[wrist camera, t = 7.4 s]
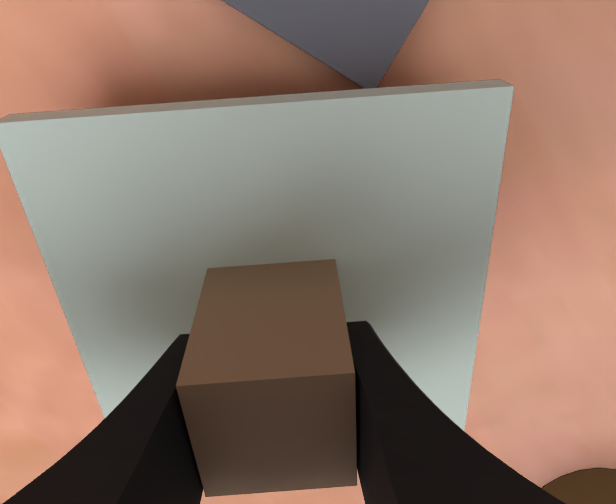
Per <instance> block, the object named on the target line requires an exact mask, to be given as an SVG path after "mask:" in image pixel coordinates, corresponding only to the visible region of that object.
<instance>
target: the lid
mask: <svg viewBox="0 0 616 504" xmlns="http://www.w3.org/2000/svg"><path fill="white" fill-rule="evenodd" d="M513 90H514V86H513V85H511V84H509V83H507V82H505V81H502V80H500V79H494V80H480V81H466V82H452V83H438V84H424V85H410V86H396V87H382V88H368V89H354V90H340V91H326V92H312V93H298V94H284V95H270V96H256V97H242V98H228V99H214V100H200V101H186V102H172V103H159V104H145V105H131V106H117V107H103V108H89V109H75V110H61V111H47V112H33V113H19V114H9V115H7V116H5V117H3V118H1V119H0V149H1V151H2V154H3V157H4V159H5V162H6V164H7V167H8V169H9V172H10V175H11V177H12V180H13V182H14V185H15V188H16V190H17V193H18V195H19V198H20V201H21V203H22V206H23V208H24V211H25V213H26V216H27V219H28V221H29V224H30V226H31V229H32V232H33V234H34V237H35V239H36V242H37V244H38V247H39V250H40V252H41V255H42V257H43V260H44V263H45V265H46V268H47V270H48V273H49V275H50V278H51V281H52V283H53V286H54V288H55V291H56V294H57V296H58V299H59V301H60V304H61V306H62V309H63V312H64V314H65V317H66V319H67V322H68V325H69V327H70V330H71V332H72V335H73V338H74V340H75V343H76V345H77V348H78V350H79V353H80V356H81V358H82V361H83V363H84V366H85V369H86V371H87V374H88V376H89V379H90V381H91V384H92V387H93V389H94V392H95V394H96V397H97V400H98V402H99V405H100V407H101V410H102V412H103V415H104V418H106V417H107V416H108V415H109V414H110V413H111V412H112V411H113V410H114V409H115V408H116V406H117V405H118V404H119V403H120V402H121V401H122V400H123V399H124V398H125V397H126V396H127V395H128V394H129V393H130V392H131V390H132V389H133V388H134V387H135V386H136V385H137V384H138V383H139V381H140V380H141V379H142V378H143V377H144V376H145V375H146V373H147V372H148V371H149V370H150V369H151V368H152V366H153V365H154V364H155V363H156V362H157V361H158V359H159V358H160V357H161V356H162V355H163V353H164V352H165V351H166V350H167V349H168V347H169V346H170V345H171V344H172V343H173V342H174V340H175V339H176V338H177V337H178V336H179V335H180V334H190V335H189V339H188V342H187V346H186V350H185V354H184V357H183V361H182V365H181V369H180V372H179V376H178V380H177V383H176V389H177V393H178V396H179V400H180V404H181V407H182V411H183V415H184V419H185V422H186V426H187V430H188V433H189V437H190V441H191V444H192V448H193V452H194V456H195V459H196V463H197V467H198V470H199V474H200V478H201V482H202V485H203V489H204V493H205V496H206V497H211V496H224V495H237V494H251V493H264V492H277V491H291V490H304V489H317V488H331V487H344V486H357V451H356V393H355V369H354V363H353V358H352V352H351V346H350V340H349V335H348V329H347V323H346V322H355V321H367V322H368V323H370V324H371V326H372V327H373V329H374V331H375V332H376V334H377V335H378V337H379V338H380V340H381V341H382V343H383V344H384V345H385V347H386V348H387V349H388V351H389V352H390V353H391V355H392V356H393V357H394V359H395V360H396V361H397V362H398V364H399V365H400V366H401V367H402V368H403V370H404V371H405V372H406V373H407V374H408V376H409V377H410V378H411V379H412V380H413V381H414V382H415V384H416V385H417V386H418V387H419V388H420V389H421V390H422V391H423V392H424V393H425V394H426V395H427V396H428V398H429V399H430V400H431V401H432V402H433V403H434V404H435V405H436V406H437V407H438V408H439V409H440V410H441V411H442V412H443V413H444V414H446V415H447V416H448V417H449V418H450V419H451V420H452V421H453V422H454V423H455V424H456V425H458V426H459V427H460V428H461V429H462V430H463V431H464V429H465V422H466V415H467V408H468V401H469V394H470V387H471V381H472V374H473V367H474V360H475V353H476V346H477V339H478V332H479V325H480V318H481V311H482V305H483V298H484V291H485V284H486V277H487V270H488V263H489V256H490V249H491V242H492V235H493V229H494V222H495V215H496V208H497V201H498V194H499V187H500V180H501V173H502V166H503V159H504V153H505V146H506V139H507V132H508V125H509V118H510V111H511V104H512V97H513Z"/></svg>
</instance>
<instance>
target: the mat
mask: <svg viewBox="0 0 616 504" xmlns="http://www.w3.org/2000/svg"><path fill="white" fill-rule="evenodd" d="M222 1H224V2H225V3H227V4H228V5H230V6H232V7H233V8H235V9H237V10H238V11H240V12H241V13H243V14H245V15H246V16H248V17H250V18H251V19H253V20H254V21H256V22H258V23H259V24H261V25H263V26H264V27H266V28H267V29H269V30H271V31H272V32H274V33H276V34H277V35H279V36H280V37H282V38H284V39H285V40H287V41H289V42H290V43H292V44H293V45H295V46H297V47H298V48H300V49H302V50H303V51H305V52H307V53H308V54H310V55H311V56H313V57H315V58H316V59H318V60H320V61H321V62H323V63H324V64H326V65H328V66H329V67H331V68H333V69H334V70H336V71H337V72H339V73H341V74H342V75H344V76H346V77H347V78H349V79H350V80H352V81H354V82H355V83H357V84H359V85H360V86H362V87H363V88H365V89H368V88H377V86H378V84H379V83H380V81H381V79H382V78H383V76H384V74H385V73H386V71H387V69H388V68H389V66H390V65H391V63H392V61H393V60H394V58H395V56H396V55H397V53H398V51H399V50H400V48H401V46H402V45H403V43H404V41H405V40H406V38H407V36H408V35H409V33H410V31H411V30H412V28H413V26H414V25H415V23H416V22H417V20H418V18H419V17H420V15H421V13H422V12H423V10H424V8H425V7H426V5H427V3H428V2H429V0H222Z"/></svg>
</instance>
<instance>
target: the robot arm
mask: <svg viewBox="0 0 616 504" xmlns="http://www.w3.org/2000/svg"><path fill="white" fill-rule="evenodd" d="M346 323H347V329H348V335H349V340H350V346H351V352H352V358H353V363H354V369H355V393H356V451H357V470H358V474H359V479H360V483H361V487H362V492H363V496H364V500H365V504H566V503H564V502H562V501H561V500H559V499H557V498H556V497H554V496H553V495H551V494H549V493H548V492H546V491H545V490H543V489H542V488H540V487H539V486H537V485H535V484H534V483H532V482H531V481H529V480H528V479H526V478H525V477H523V476H522V475H520V474H519V473H517V472H516V471H515V470H513V469H512V468H511V467H509V466H508V465H507V464H505V463H504V462H502V461H501V460H500V459H498V458H497V457H496V456H494V455H493V454H492V453H490V452H489V451H487V450H486V449H485V448H484V447H482V446H481V445H480V444H479V443H477V442H476V441H475V440H474V439H473V438H471V437H470V436H469V435H468V434H467V433H465V432H464V431H463V430H462V429H461V428H460V427H459V426H458V425H456V424H455V423H454V422H453V421H452V420H451V419H450V418H449V417H448V416H447V415H446V414H444V413H443V412H442V411H441V410H440V409H439V408H438V407H437V406H436V405H435V404H434V403H433V402H432V401H431V400H430V399H429V398H428V396H427V395H426V394H425V393H424V392H423V391H422V390H421V389H420V388H419V387H418V386H417V385H416V384H415V382H414V381H413V380H412V379H411V378H410V377H409V376H408V374H407V373H406V372H405V371H404V370H403V368H402V367H401V366H400V365H399V364H398V362H397V361H396V360H395V359H394V357H393V356H392V355H391V353H390V352H389V351H388V349H387V348H386V347H385V345H384V344H383V343H382V341H381V340H380V338H379V337H378V335H377V334H376V332H375V331H374V329H373V327H372V326H371V324H370V323H368V322H367V321H355V322H346ZM189 335H190V334H180V335H179V336H178V337H177V338H176V339H175V340H174V342H173V343H172V344H171V345H170V346H169V347H168V349H167V350H166V351H165V352H164V353H163V355H162V356H161V357H160V358H159V359H158V361H157V362H156V363H155V364H154V365H153V366H152V368H151V369H150V370H149V371H148V372H147V373H146V375H145V376H144V377H143V378H142V379H141V380H140V381H139V383H138V384H137V385H136V386H135V387H134V388H133V389H132V390H131V392H130V393H129V394H128V395H127V396H126V397H125V398H124V399H123V400H122V401H121V402H120V403H119V404H118V405H117V406H116V408H115V409H114V410H113V411H112V412H111V413H110V414H109V415H108V416H107V417H106V418H105V419H104V420H103V421H102V422H101V423H100V424H99V425H98V426H97V427H96V428H95V429H94V430H93V431H92V432H90V433H89V434H88V435H87V436H86V437H85V438H84V439H83V440H82V441H81V442H80V443H78V444H77V445H76V446H75V447H74V448H73V449H71V450H70V451H69V452H68V453H67V454H66V455H65V456H63V457H62V458H61V459H60V460H59V461H57V462H56V463H55V464H54V465H53V466H51V467H50V468H49V469H47V470H46V471H45V472H44V473H42V474H41V475H40V476H38V477H37V478H36V479H34V480H33V481H32V482H31V483H29V484H28V485H27V486H25V487H24V488H23V489H21V490H20V491H19V492H18V493H16V494H15V495H14V496H12V497H11V498H10V499H8V500H7V501H5V502H4V503H3V504H200V501H201V497H202V492H203V485H202V482H201V478H200V474H199V470H198V467H197V463H196V459H195V456H194V452H193V448H192V444H191V441H190V437H189V433H188V430H187V426H186V422H185V419H184V415H183V411H182V407H181V404H180V400H179V396H178V393H177V389H176V383H177V380H178V376H179V372H180V369H181V365H182V361H183V357H184V354H185V350H186V346H187V342H188V339H189Z"/></svg>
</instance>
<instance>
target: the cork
mask: <svg viewBox="0 0 616 504" xmlns="http://www.w3.org/2000/svg"><path fill="white" fill-rule="evenodd" d="M542 489H543V490H545V491H546V492H548V493H549V494H551V495H553V496H554V497H556V498H557V499H559V500H561V501H562V502H564V503H566V504H616V470H614V469H604V468H595V469H587V470H579V471H576V472H573V473H570V474H567V475H564V476H561V477H559V478H557V479H556V480H554V481H552V482H550V483H549V484H547V485H545V486H544V487H543V488H542Z"/></svg>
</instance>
